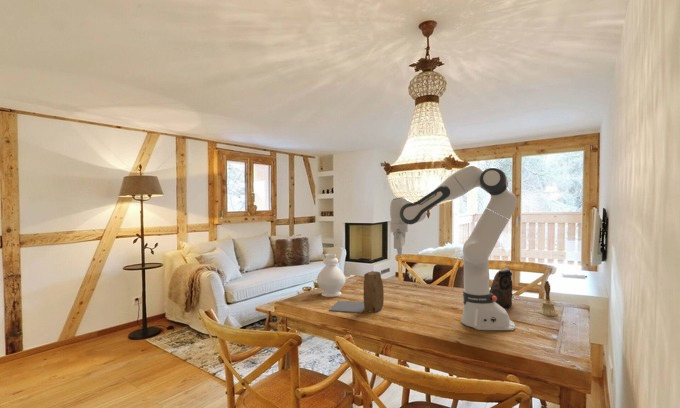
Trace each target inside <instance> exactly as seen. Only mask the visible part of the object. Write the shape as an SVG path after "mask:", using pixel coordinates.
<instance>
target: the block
mask: <svg viewBox="0 0 680 408" xmlns="http://www.w3.org/2000/svg"><path fill="white" fill-rule="evenodd" d="M363 278H364V279H363V302H364V308H365V310H364V311H366V312H369V313H376V312H379V311H381V310H382V309H383V306H384V302H385V301H384V296H385V295H384V293H385V292H384V284H383V283H384V282H383V279H382V273H381V272H380V271H374V270H373V271H368V272H366V273H365V274H364V275H363Z"/></svg>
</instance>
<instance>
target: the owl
mask: <svg viewBox="0 0 680 408" xmlns="http://www.w3.org/2000/svg"><path fill="white" fill-rule="evenodd" d="M512 275H513V273H512V271H511V269H510V267H509V266H508V267H504V268H501V269H499V270H498V271H497V272H496V274H495V275H494V277H493V280H492V283H491V285H490V293H492V294H493V295H494V296H496V298H497V300H496V301H495V302H496V303H497V304H499V305H500V306H501V307H502V308H504V309H505V310H506V309H510V308H511V307H513V301H512V300H513V280H512Z"/></svg>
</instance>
